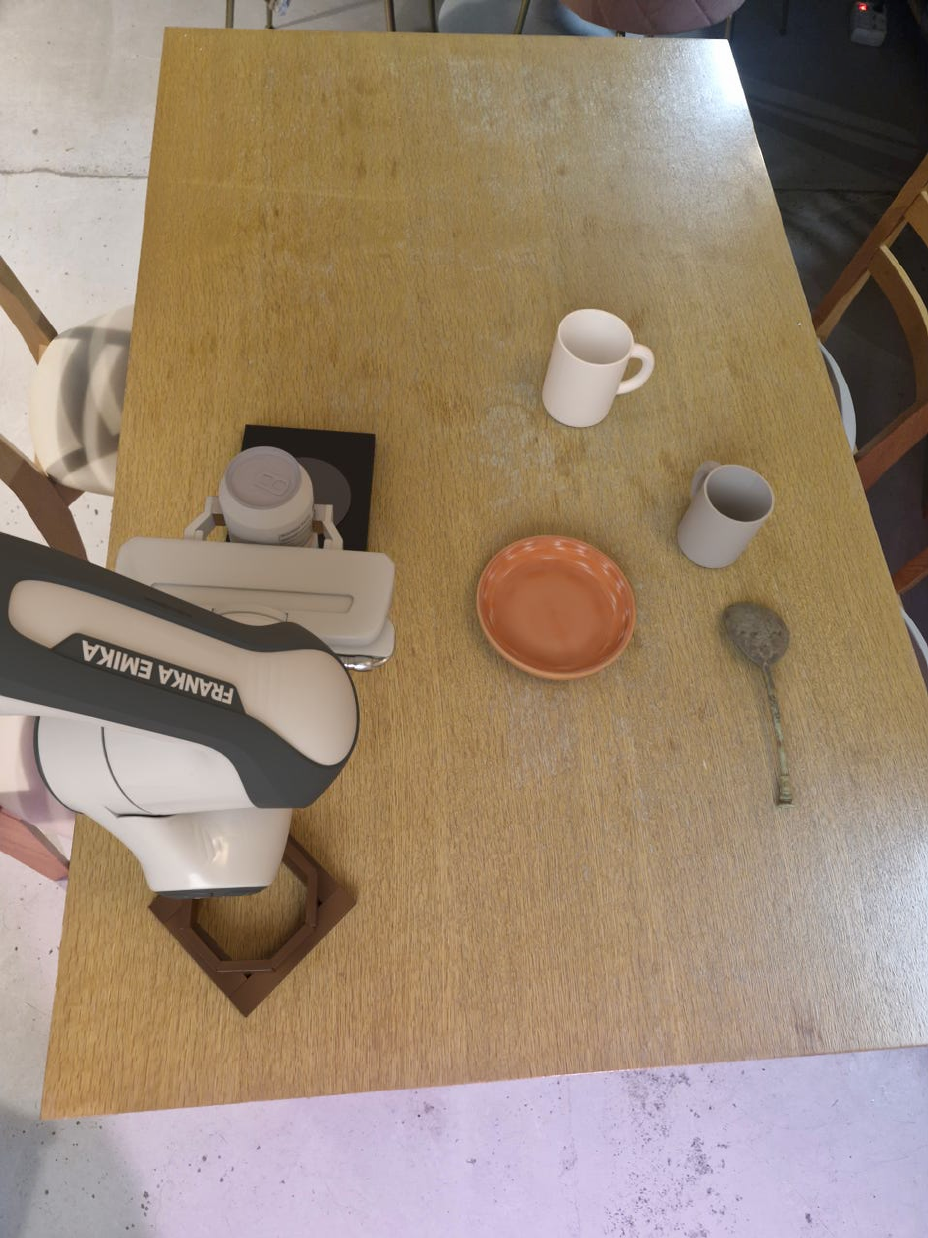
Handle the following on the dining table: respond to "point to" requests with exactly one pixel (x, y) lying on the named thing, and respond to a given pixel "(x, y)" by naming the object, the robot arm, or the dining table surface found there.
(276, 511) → the beverage can
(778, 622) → the soupspoon
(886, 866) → the dining table surface
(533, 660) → the saucer
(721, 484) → the cup
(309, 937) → the can holder
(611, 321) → the mug
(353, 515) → the hob
